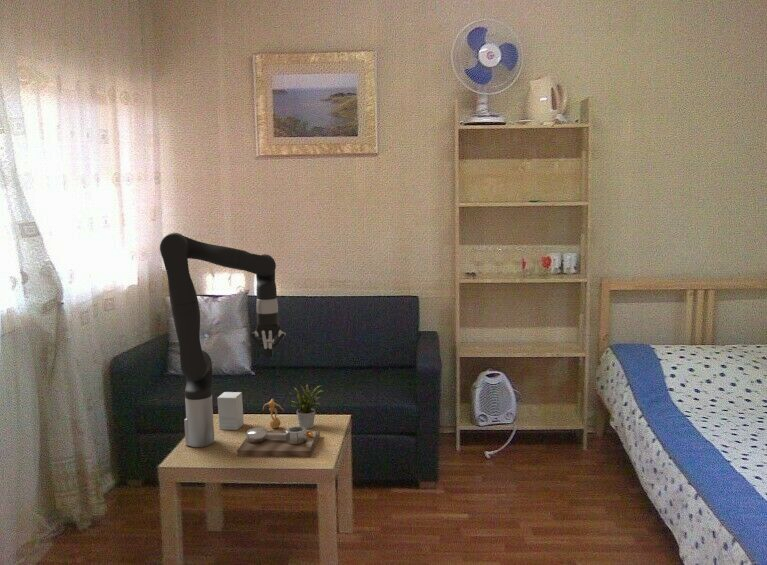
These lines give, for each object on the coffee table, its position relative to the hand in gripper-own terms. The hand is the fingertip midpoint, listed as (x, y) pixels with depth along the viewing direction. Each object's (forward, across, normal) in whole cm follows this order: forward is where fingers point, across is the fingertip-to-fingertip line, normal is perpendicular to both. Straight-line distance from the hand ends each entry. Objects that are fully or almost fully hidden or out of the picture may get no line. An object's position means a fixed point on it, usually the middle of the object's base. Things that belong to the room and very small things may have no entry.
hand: (269, 358), depth 255 cm
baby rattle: (+27, +5, -10) cm, 29 cm away
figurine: (+29, -1, +7) cm, 30 cm away
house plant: (+29, +12, +10) cm, 33 cm away
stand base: (+29, +5, -10) cm, 31 cm away
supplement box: (+29, -18, +9) cm, 35 cm away
